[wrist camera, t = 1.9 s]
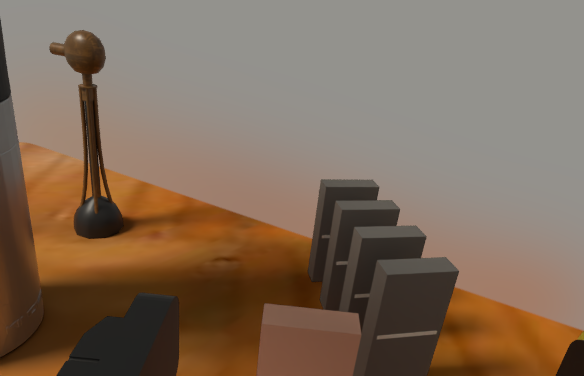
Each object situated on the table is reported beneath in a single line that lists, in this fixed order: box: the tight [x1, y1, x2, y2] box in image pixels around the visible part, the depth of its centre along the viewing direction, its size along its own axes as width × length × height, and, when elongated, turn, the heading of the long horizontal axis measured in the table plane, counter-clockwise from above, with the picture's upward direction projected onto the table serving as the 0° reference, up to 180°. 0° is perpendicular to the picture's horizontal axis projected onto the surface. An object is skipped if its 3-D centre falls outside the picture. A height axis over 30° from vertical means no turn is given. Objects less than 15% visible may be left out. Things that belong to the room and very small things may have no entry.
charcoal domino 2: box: [320, 200, 400, 311], centre depth 38 cm, size 2×5×10 cm, turn 103°
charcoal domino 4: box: [353, 257, 459, 376], centre depth 31 cm, size 2×5×10 cm, turn 102°
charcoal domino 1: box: [308, 180, 379, 282], centre depth 42 cm, size 2×5×10 cm, turn 103°
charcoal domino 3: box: [339, 226, 426, 333], centre depth 34 cm, size 2×5×10 cm, turn 103°
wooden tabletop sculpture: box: [50, 30, 124, 239], centre depth 44 cm, size 6×5×20 cm
